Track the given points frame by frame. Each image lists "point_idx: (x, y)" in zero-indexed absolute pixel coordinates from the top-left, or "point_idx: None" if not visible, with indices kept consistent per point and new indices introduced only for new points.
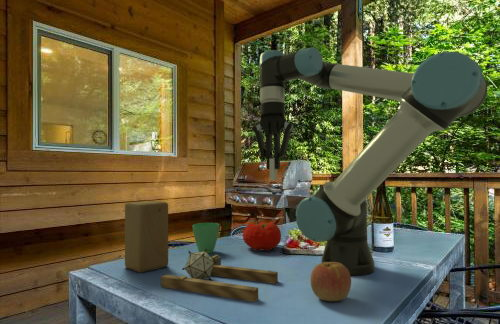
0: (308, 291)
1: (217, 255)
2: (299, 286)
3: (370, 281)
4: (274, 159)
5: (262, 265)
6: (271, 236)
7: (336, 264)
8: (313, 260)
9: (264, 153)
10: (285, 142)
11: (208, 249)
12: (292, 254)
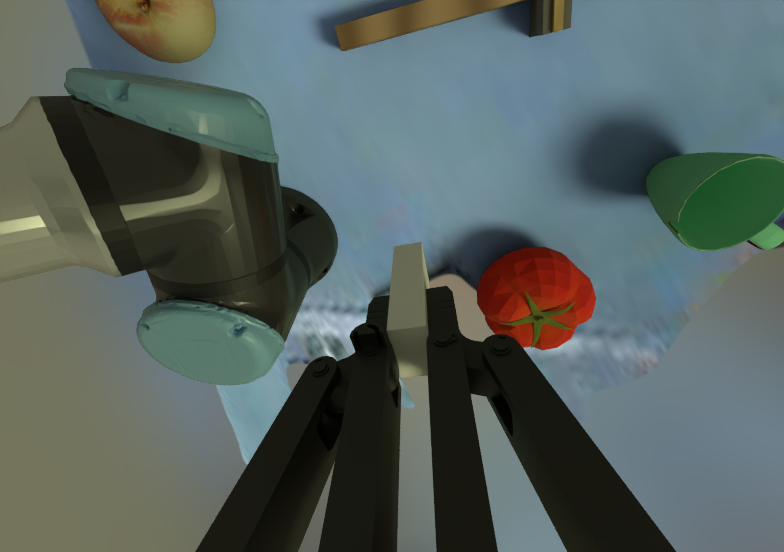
0: (249, 29)
1: (554, 26)
2: (285, 51)
3: None
4: (388, 332)
5: (450, 153)
6: (490, 280)
7: (121, 9)
8: (370, 252)
9: (487, 367)
10: (248, 469)
11: (658, 168)
12: (433, 272)
